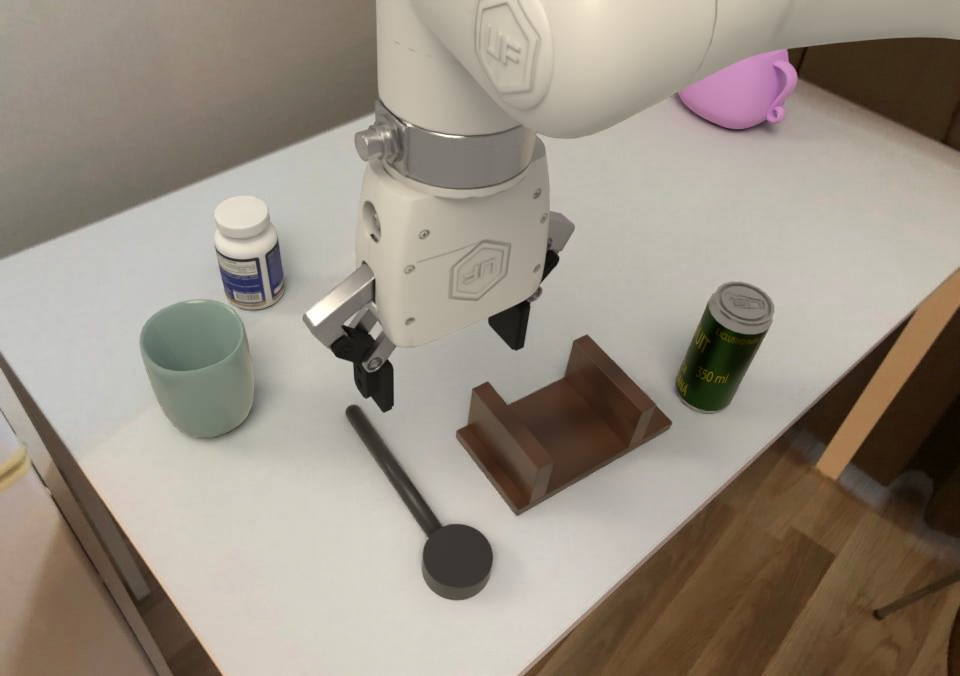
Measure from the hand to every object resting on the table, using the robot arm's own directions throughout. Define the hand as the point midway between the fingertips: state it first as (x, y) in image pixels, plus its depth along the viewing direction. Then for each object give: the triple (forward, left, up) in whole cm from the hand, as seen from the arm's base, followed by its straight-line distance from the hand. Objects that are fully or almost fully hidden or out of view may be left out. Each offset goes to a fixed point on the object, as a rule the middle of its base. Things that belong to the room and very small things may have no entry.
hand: (443, 364), depth 50 cm
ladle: (+1, +1, -18) cm, 18 cm away
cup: (+17, +11, -18) cm, 27 cm away
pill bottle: (+29, +2, -18) cm, 35 cm away
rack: (0, -14, -18) cm, 23 cm away
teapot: (+33, -67, -18) cm, 77 cm away
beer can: (-3, -28, -18) cm, 33 cm away
